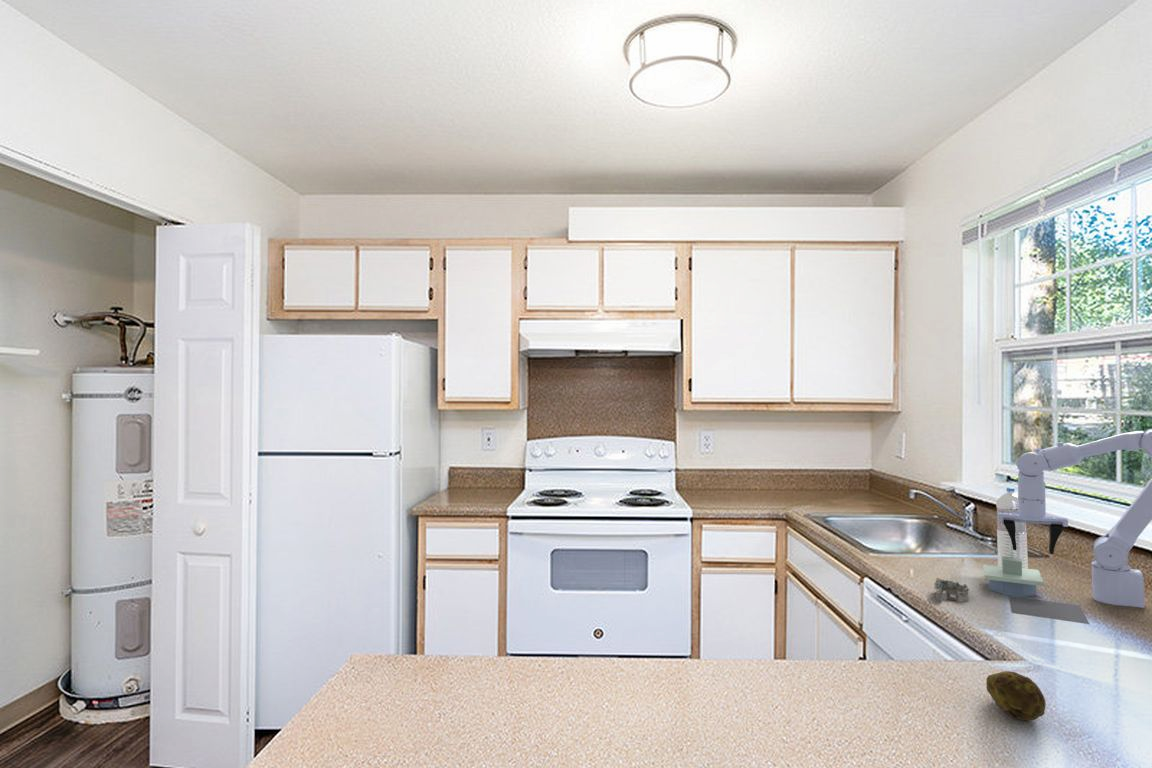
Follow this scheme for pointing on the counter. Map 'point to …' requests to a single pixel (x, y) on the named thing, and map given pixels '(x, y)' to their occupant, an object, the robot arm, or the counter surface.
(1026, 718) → the potato
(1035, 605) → the mat
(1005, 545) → the water bottle
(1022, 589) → the bowl
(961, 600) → the egg carton
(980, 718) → the counter surface
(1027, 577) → the lid
